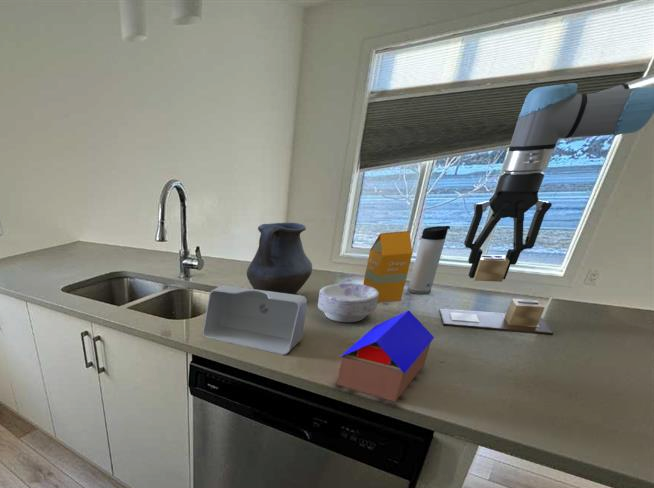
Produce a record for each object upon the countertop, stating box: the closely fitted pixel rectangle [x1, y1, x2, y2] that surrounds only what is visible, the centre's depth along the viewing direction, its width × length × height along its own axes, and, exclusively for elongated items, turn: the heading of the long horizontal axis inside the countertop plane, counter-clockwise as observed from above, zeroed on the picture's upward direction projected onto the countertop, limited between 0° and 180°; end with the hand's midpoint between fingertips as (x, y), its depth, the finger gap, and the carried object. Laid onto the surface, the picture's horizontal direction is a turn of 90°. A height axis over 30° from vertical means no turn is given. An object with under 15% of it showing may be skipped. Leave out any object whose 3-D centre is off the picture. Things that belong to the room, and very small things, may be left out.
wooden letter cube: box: [472, 254, 510, 283], centre depth 98 cm, size 5×5×5 cm
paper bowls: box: [317, 282, 379, 323], centre depth 115 cm, size 15×15×8 cm
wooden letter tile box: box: [505, 298, 546, 326], centre depth 102 cm, size 5×5×5 cm
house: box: [336, 310, 435, 402], centre depth 85 cm, size 12×20×12 cm, turn 135°
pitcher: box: [246, 222, 313, 295], centre depth 129 cm, size 21×22×25 cm
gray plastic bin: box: [202, 284, 308, 356], centre depth 109 cm, size 25×16×12 cm, turn 51°
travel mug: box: [407, 225, 451, 295], centre depth 125 cm, size 6×7×20 cm
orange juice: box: [362, 230, 413, 303], centre depth 123 cm, size 8×9×20 cm
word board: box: [438, 307, 554, 336], centre depth 106 cm, size 22×12×1 cm, turn 62°
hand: (486, 276), depth 100 cm, fingers closed on wooden letter cube, 5 cm apart
